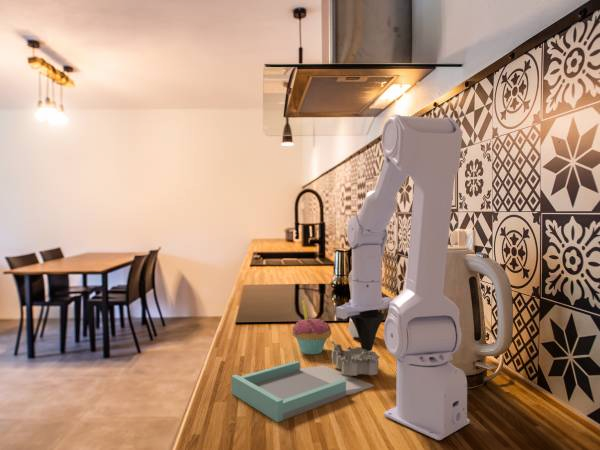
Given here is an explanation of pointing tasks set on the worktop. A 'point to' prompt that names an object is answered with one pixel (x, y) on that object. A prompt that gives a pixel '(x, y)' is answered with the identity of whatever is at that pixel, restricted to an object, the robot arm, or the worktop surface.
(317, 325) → the cupcake
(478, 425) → the worktop surface
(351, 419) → the worktop surface
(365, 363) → the egg carton
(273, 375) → the dock
